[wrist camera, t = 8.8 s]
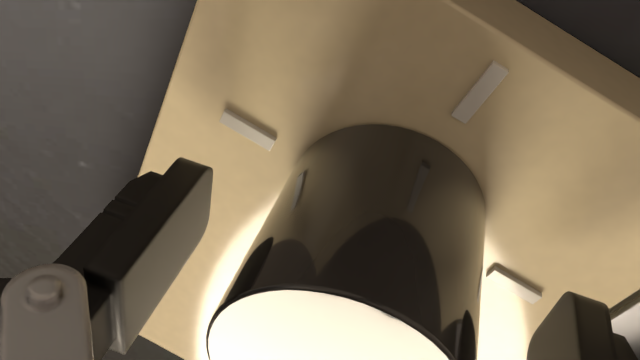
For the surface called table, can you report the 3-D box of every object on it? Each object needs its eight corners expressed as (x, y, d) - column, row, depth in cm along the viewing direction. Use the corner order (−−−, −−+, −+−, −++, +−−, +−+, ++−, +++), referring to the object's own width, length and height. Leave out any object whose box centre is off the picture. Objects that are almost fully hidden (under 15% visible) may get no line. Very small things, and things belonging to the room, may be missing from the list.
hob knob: (278, 242, 15) (191, 417, 11) (308, 95, 12) (205, 260, 8) (446, 301, 15) (419, 506, 11) (521, 163, 12) (524, 374, 8)
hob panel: (284, -147, 12) (235, -129, 10) (735, 137, 13) (777, 208, 11) (129, 262, 22) (89, 313, 20) (385, 404, 23) (372, 467, 21)
